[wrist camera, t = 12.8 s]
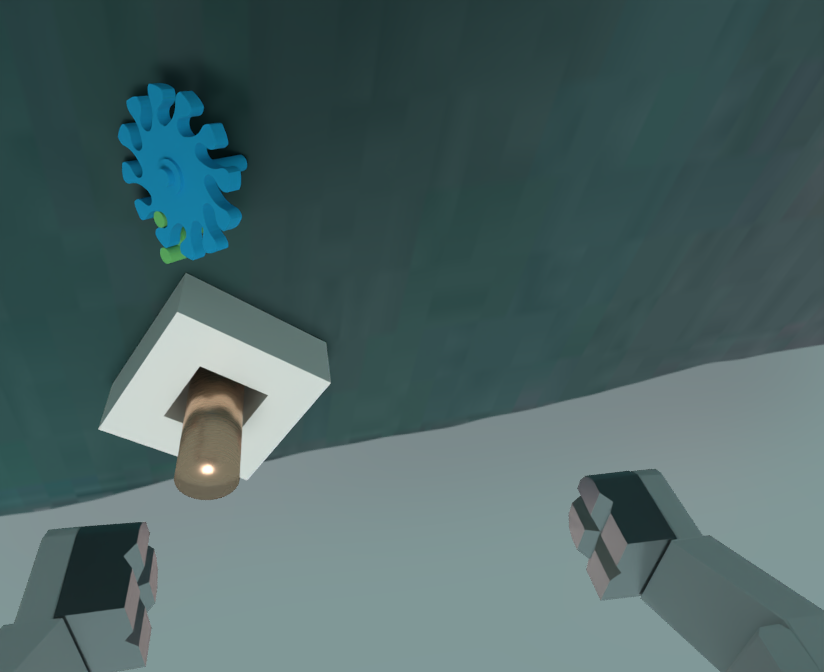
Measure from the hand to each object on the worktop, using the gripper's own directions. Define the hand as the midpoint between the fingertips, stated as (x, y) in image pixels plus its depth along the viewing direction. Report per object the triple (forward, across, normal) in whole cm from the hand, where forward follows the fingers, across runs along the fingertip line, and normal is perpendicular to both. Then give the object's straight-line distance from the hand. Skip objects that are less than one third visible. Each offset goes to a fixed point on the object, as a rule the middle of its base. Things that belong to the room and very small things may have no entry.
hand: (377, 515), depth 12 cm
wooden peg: (+33, +7, +22) cm, 40 cm away
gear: (+33, +7, +6) cm, 35 cm away
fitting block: (+33, +7, +22) cm, 40 cm away
